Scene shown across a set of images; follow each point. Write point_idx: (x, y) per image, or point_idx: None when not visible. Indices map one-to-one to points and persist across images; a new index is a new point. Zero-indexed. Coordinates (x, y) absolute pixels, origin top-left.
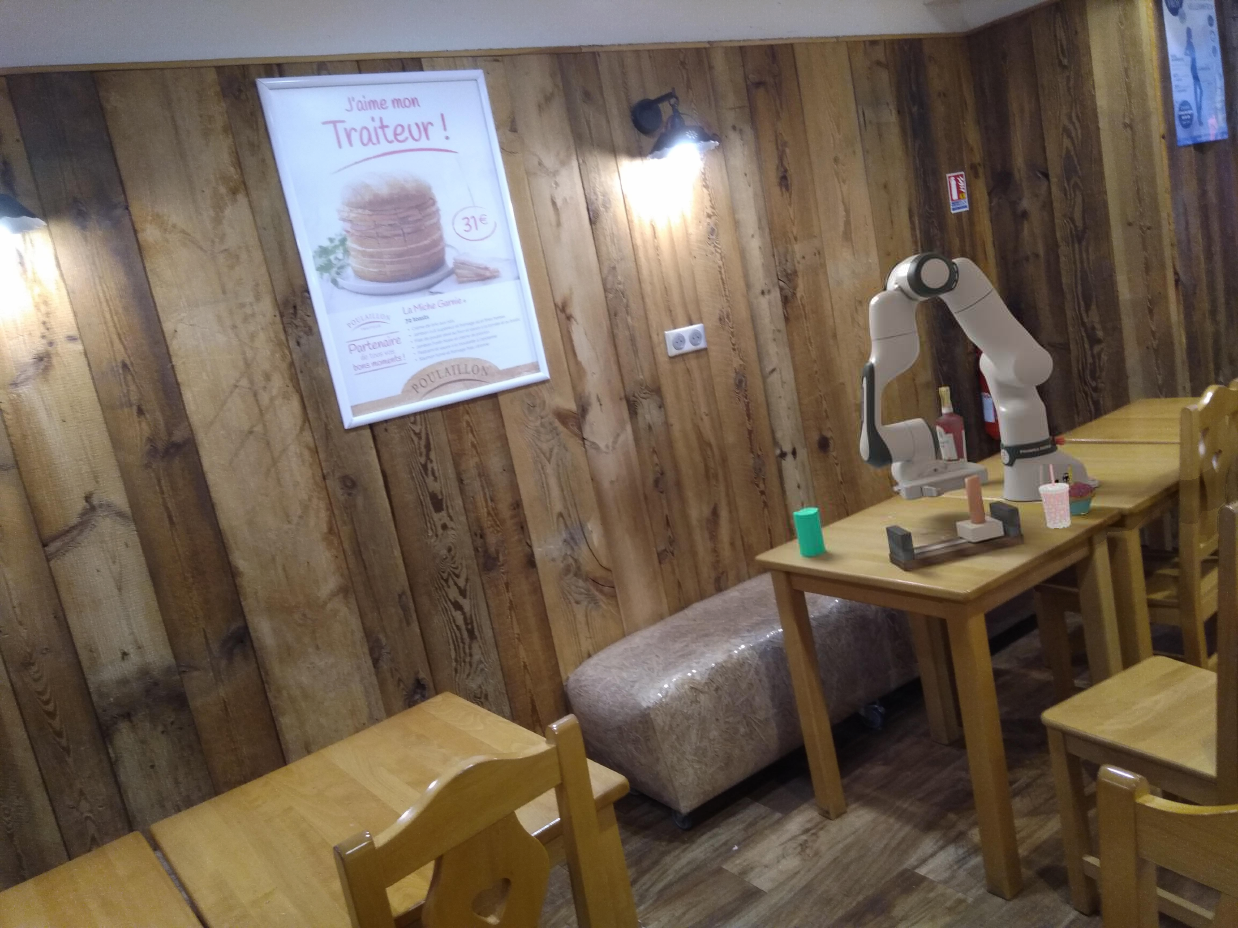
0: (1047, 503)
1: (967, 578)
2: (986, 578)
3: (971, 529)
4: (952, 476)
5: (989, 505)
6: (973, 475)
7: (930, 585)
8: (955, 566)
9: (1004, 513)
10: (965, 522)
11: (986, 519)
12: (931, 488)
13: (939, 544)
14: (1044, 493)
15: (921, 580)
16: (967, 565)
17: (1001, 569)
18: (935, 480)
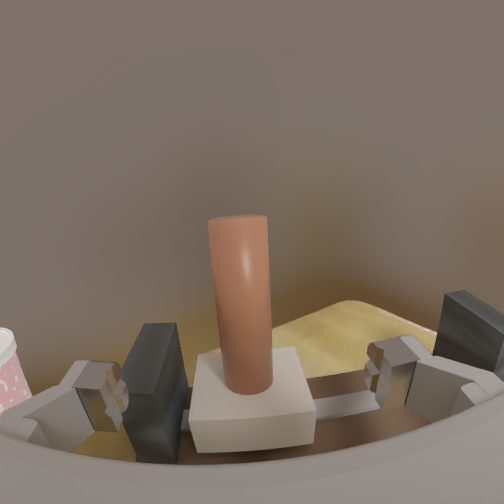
0: (22, 378)
1: (340, 322)
2: (314, 316)
3: (293, 348)
4: (178, 466)
5: (155, 399)
6: (23, 419)
7: (396, 317)
8: (351, 361)
9: (174, 346)
10: (286, 395)
11: (215, 386)
12: (431, 357)
13: (379, 418)
14: (14, 351)
15: (412, 331)
16: (328, 358)
17: (280, 331)
18: (411, 431)
